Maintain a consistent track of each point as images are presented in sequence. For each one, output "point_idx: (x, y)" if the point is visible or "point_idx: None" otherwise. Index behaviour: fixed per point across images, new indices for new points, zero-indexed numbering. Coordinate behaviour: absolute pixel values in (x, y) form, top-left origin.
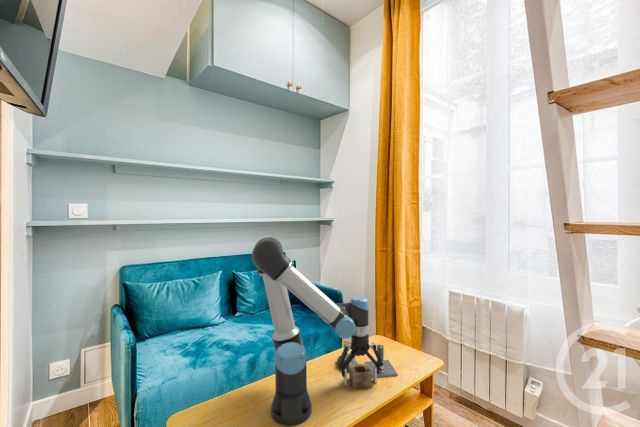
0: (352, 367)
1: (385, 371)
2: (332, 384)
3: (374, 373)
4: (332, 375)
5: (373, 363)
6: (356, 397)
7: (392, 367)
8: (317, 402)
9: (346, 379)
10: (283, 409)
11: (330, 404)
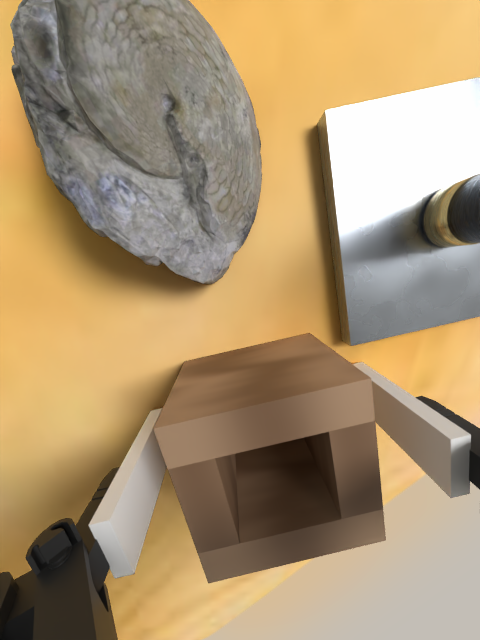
0: (197, 473)
1: (468, 279)
2: (77, 437)
3: (395, 428)
4: (52, 337)
5: (406, 145)
6: None
7: None
8: None
9: (159, 479)
10: None
11: None
